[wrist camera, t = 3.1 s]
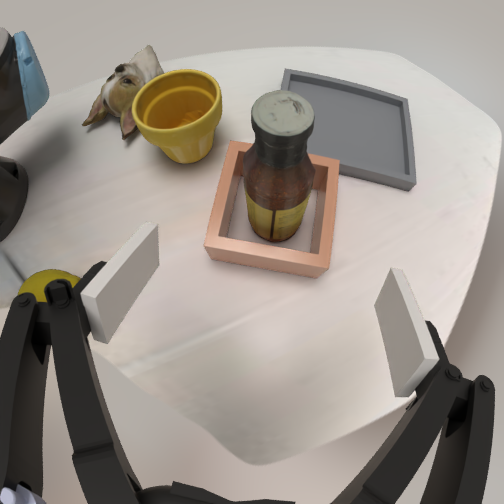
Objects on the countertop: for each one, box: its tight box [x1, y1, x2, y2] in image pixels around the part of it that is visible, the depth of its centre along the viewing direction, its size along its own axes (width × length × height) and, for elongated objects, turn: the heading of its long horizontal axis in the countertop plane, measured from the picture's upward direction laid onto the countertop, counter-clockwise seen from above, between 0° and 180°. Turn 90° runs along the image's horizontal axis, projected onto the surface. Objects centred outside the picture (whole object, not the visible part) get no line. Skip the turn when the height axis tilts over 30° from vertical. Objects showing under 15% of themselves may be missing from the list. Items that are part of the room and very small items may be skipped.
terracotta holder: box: [204, 141, 340, 278], centre depth 34 cm, size 12×12×6 cm
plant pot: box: [132, 69, 222, 164], centre depth 35 cm, size 10×10×10 cm
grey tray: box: [281, 69, 416, 191], centre depth 39 cm, size 20×16×2 cm
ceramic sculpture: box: [82, 45, 164, 140], centre depth 38 cm, size 11×9×15 cm
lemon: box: [18, 269, 80, 302], centre depth 30 cm, size 11×8×8 cm
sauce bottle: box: [243, 90, 316, 242], centre depth 27 cm, size 6×6×20 cm
